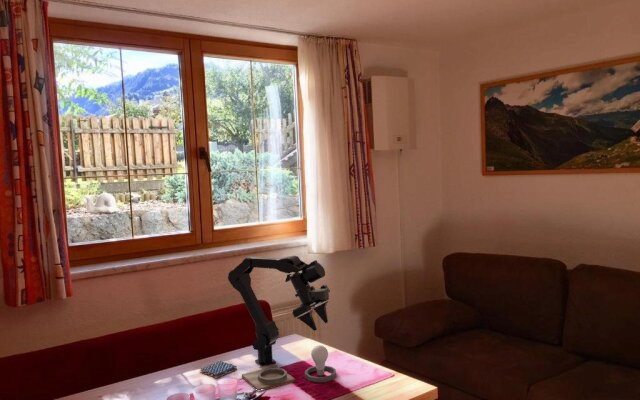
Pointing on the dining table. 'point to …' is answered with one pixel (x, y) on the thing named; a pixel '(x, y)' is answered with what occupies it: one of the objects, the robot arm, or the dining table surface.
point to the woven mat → (218, 369)
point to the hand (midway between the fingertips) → (321, 326)
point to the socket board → (268, 378)
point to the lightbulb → (319, 358)
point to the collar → (320, 379)
